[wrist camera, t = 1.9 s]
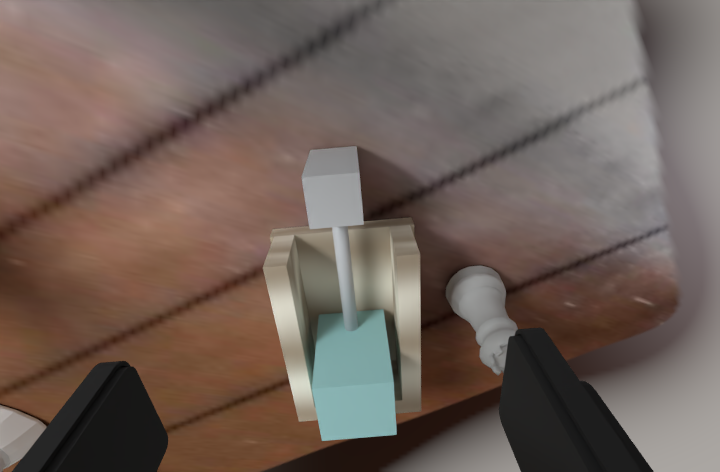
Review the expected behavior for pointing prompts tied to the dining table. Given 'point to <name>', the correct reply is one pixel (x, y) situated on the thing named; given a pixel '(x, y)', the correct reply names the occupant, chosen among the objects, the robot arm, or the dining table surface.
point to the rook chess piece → (483, 311)
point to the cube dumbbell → (347, 313)
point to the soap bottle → (17, 435)
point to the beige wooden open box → (322, 296)
